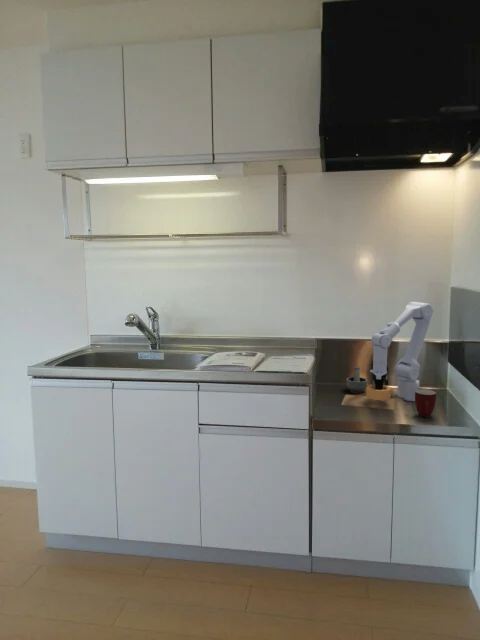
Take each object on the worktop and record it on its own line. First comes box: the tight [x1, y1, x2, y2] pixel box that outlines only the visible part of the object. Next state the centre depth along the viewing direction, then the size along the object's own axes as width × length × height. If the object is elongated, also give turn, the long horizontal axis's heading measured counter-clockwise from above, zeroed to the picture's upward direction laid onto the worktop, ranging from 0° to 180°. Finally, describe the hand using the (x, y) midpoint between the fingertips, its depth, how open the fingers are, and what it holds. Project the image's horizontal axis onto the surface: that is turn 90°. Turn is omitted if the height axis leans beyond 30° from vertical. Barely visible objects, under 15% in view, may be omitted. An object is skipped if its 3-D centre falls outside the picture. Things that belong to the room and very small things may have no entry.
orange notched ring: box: [365, 384, 392, 400], centre depth 217 cm, size 10×10×4 cm
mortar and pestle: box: [346, 366, 368, 394], centre depth 236 cm, size 11×9×12 cm
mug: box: [414, 388, 437, 418], centre depth 203 cm, size 10×8×10 cm
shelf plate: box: [340, 394, 397, 411], centre depth 220 cm, size 22×16×5 cm
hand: (379, 391), depth 221 cm, fingers closed on orange notched ring, 2 cm apart
